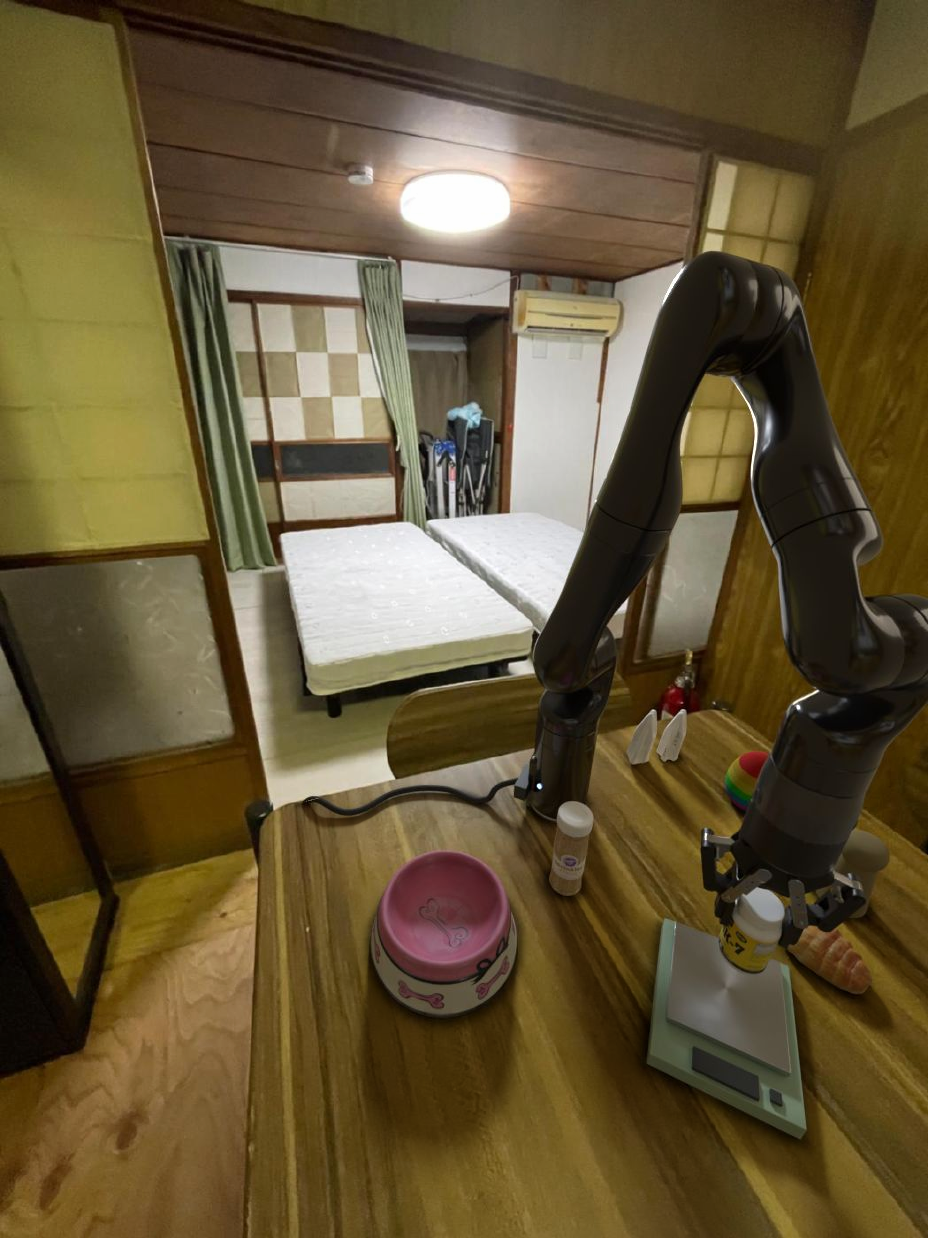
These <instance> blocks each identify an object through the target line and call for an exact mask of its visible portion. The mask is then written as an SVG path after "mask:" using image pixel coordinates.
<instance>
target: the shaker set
mask: <svg viewBox="0 0 928 1238" xmlns="http://www.w3.org/2000/svg"><path fill="white" fill-rule="evenodd" d="M657 714H658V713H657V710H656V709H651V710H650V711H649V712H648V714H646V716H645V717H643V719H642V720H641V721H640V723H639V724H638V725H637V727H636V728H635V729H634V732H633V734H632V737H631V738H630V742H629V745H628V748H627V750H626V756H627V758H628V761H629V763H630V764H631V765H637V764H644V763H647V762H649V761H650V756H651V753H652V749H653V747H654V744H655V741H656V739H657V738H656V737H657V734H658V715H657ZM686 734H687V710H686V709H683V708H682V709H680V711H678V713H677V714H676V715H675V716H674V717H673V719H672V720H671V721H670V722H669V723H668V724H667V725H666V727H665V728H664V730H663V731H662V735H661V737H660V741H659V743H658V745H657V747H656V751H655V752H656V753H657V754H658V755H659V756H660V760H661V761H662V762H666V761H667V760H668V761H669V760H671V761H672V762H675V761H676V760H678V758H679V754H680V751H681V748H682V745H683V744H684V741H685V739H686V736H687V735H686Z"/></svg>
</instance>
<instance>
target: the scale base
mask: <svg viewBox="0 0 928 1238" xmlns="http://www.w3.org/2000/svg"><path fill="white" fill-rule="evenodd" d="M675 922H676V921H674V920H671V919H670V918H669V919H668V918H666V917H664V918H663V921H662V925H661V930H660V936H659V937H660V939H659V946H658V947H659V948H658V956H657V964H656V965H657V966H656V974H655V981H654V992H653V999H652V1000H653V1001H652V1008H651V1009H652V1010H651V1018H650V1027H649V1036H648V1045H647V1052H646V1064H647V1065H649V1066H651V1067H652V1068H655V1069H657V1070H658V1071H661V1072H663V1073H665V1074H667V1075H669V1076H670V1077H672V1078H674V1079H676V1080H678V1081H681V1082H683V1083H684V1084H687V1085H688V1086H691V1087H693V1088H695V1089H697V1090H699V1091H701V1092H703V1093H705V1094H707V1095H710V1096H711V1097H713V1098H715V1099H717V1100H720V1101H721V1102H723V1103H725V1104H727V1105H729V1106H731V1107H733V1108H735V1109H738V1110H740V1111H742V1112H744V1113H745V1114H746V1115H747V1114H748V1115H749V1116H752V1117H753V1118H756V1119H758V1120H760V1121H761V1122H764V1123H766V1124H768V1125H770V1126H771V1127H774V1128H776V1129H778V1130H780V1131H781V1132H784V1133H786V1134H787V1135H790V1136H792V1137H794V1138H796V1139H798V1140H801V1139H802V1138H803V1137H804V1135H805V1134H806V1132H807V1130H808V1129H807V1120H806V1111H805V1110H806V1109H805V1101H804V1093H803V1092H804V1091H803V1083H802V1074H801V1073H802V1072H801V1065H800V1056H799V1046H798V1045H799V1044H798V1035H797V1027H796V1019H795V1008H794V1000H793V991H792V990H793V989H792V982H791V973H790V971H791V970H790V966H789V965H786V964H784V963H781V972H782V983H783V994H784V1004H785V1015H786V1025H787V1036H788V1046H789V1057H790V1067H791V1074H790V1076H789V1077H787V1076H785V1075H783V1074H781V1073H778V1072H776V1071H774V1070H772V1069H770V1068H768V1067H765V1066H763V1065H761V1064H759V1063H757V1062H755V1061H752V1060H750V1059H748V1058H746V1057H744V1056H741V1055H739V1054H737V1053H735V1052H733V1051H731V1050H728V1049H726V1048H724V1047H722V1046H720V1045H718V1044H715V1043H713V1042H711V1041H709V1040H707V1039H704V1038H702V1037H700V1036H698V1035H696V1034H694V1033H691V1032H689V1031H687V1030H685V1029H683V1028H681V1027H678V1026H676V1025H674V1024H672V1023H670V1022H668V1021H666V1011H667V1000H668V989H669V978H670V967H671V956H672V945H673V934H674V925H675Z"/></svg>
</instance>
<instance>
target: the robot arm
mask: <svg viewBox="0 0 928 1238" xmlns="http://www.w3.org/2000/svg"><path fill="white" fill-rule="evenodd" d="M705 375H709V376H715V377H721V378H729V379H730V380H731V382H732V383H733V384H734V385H735V386H736V388H737V390H738V391H739V392H740V394H741V396H742V397H743V399H744V400H745V402H746V404H747V406H748V408H749V411H750V414H751V417H752V421H753V428H754V429H753V430H754V440H753V441H754V442H753V450H752V457H751V464H750V487H751V488H750V489H751V495H752V500H753V503H754V506H755V507H754V508H755V509H756V512H757V513H756V514H757V515H758V517H759V520H760V522H761V525H762V528H763V531H764V534H765V536H766V538H767V540H768V543H769V545H770V548H771V551H772V553H773V556H774V558H775V560H776V563H777V570H778V572H777V573H778V592H779V604H780V605H779V606H780V619H781V633H782V640H783V645H784V649H785V652H786V654H787V657H788V659H789V661H790V663H791V664H792V666H793V669H795V671H796V673H798V674H799V675H800V677H801V678H802V679H803V680H804V681H805V682H806V683H807V684H808V685H809V686H811V687H812V688H813V689H814V690H811V691H810V692H808V693H805V694H804V695H801V696H799V697H798V698H796V699H795V700H793V701H792V702H791V703H790V704H789V705H788V707H787V708H786V710H785V712H784V715H783V716H782V719H781V721H780V724H779V727H778V729H777V733H776V735H775V739H774V741H773V744H772V747H771V750H770V752H769V753H768V755H769V756H768V758H767V759H766V761H765V763H764V764H763V766H762V769H761V771H760V774H759V776H758V779H757V782H756V785H755V788H754V791H753V794H752V796H751V799H750V802H749V805H748V808H747V811H745V814H744V816H743V820H742V823H741V826H740V827H739V829H738V830H737V831H735V832H734V833H733V834H731V836H730V837H728V836H721V835H716V834H715V831H714V830H713V829H711V828H709V827H704V828H702V829H701V830H700V848H699V849H700V851H699V852H700V863H701V875H702V886H703V889H704V890H706V891H707V892H711V893H713V892H716V896H715V899H714V905H713V906H714V907H713V908H714V910H713V911H714V917H715V918H718V919H719V920H718V922H719V924H720V925H721V926H723V925H724V926H728V923H729V921H730V918H731V916H732V913H733V910H734V908H735V900H736V899H738V898H739V897H740V896H741V895H742V894H744V895H748V894H749V893H750V892H752V891H753V890H754V889H755V888H757V887H758V888H761V889H766V890H769V891H770V892H772V893H774V894H777V895H779V896H780V897H781V896H782V897H784V898H787V899H790V905H788V904H786V906H785V907H784V910H785V916H784V919H783V921H782V934H781V937H780V939H779V941H778V943H777V945H778V947H781V948H783V949H786V950H788V949H787V948H788V946H789V944H790V945H793V946H794V945H795V944H797V943H798V941H799V939H800V937H801V935H802V933H803V930H804V929H806V928H808V926H817V927H818V929H819V930H821V931H823V932H832V931H833V930H834V929H835V928H837V929H838V927H839V926H840V925H841V924H843V923H844V922H845V921H846V920H848V919H849V917H850V916H851V915H852V914H854V913H855V912H856V911H857V910H858V909H860V908H861V907H862V906H863V905H865V904H866V898H865V895H864V891H863V887H862V884H861V880H860V877H859V876H858V875H856V874H853V873H848V874H846V875H842V874H840V873H838V872H836V871H834V870H833V869H834V867H835V865H836V863H837V861H838V859H839V857H840V855H841V853H842V851H843V849H844V846H845V844H846V842H847V840H848V838H849V836H850V834H851V832H852V830H855V829H856V828H857V826H858V823H859V818H860V815H861V814H862V811H863V806H864V804H865V799H866V794H867V792H868V790H869V788H870V786H871V783H872V781H873V779H874V777H875V775H876V773H877V771H878V769H879V767H880V765H881V762H882V760H883V758H884V754H885V753H886V750H887V748H888V747H889V745H891V744H892V742H893V741H894V740H895V739H897V737H898V736H899V735H900V734H901V733H902V732H903V731H904V730H905V729H906V728H907V727H909V725H910V724H911V723H912V721H914V719H915V718H916V717H917V716H918V715H919V713H920V712H922V710H923V709H924V708H925V706H926V705H928V598H927V597H924V596H922V595H918V594H912V593H901V592H899V593H884V594H876V595H875V594H874V595H868V596H864V595H863V592H862V588H861V581H860V576H859V568H860V567H862V566H864V565H866V564H868V563H869V562H871V561H872V560H874V559H875V558H876V557H877V556H878V554H879V553H880V552H881V551H882V549H883V545H884V537H883V536H884V535H883V531H882V528H881V526H880V523H879V520H878V518H877V516H876V514H875V512H874V510H873V508H872V506H871V504H870V502H869V500H868V497H867V495H866V493H865V491H864V489H863V487H862V485H861V483H860V480H859V478H858V476H857V474H856V471H855V470H854V467H853V466H852V464H851V462H850V459H849V457H848V455H847V453H846V450H845V448H844V446H843V444H842V440H841V438H840V436H839V434H838V431H837V428H836V425H835V422H834V420H833V417H832V414H831V410H830V408H829V404H828V400H827V397H826V394H825V390H824V388H823V382H822V379H821V375H820V371H819V367H818V363H817V360H816V355H815V352H814V347H813V342H812V337H811V333H810V327H809V323H808V320H807V316H806V312H805V307H804V303H803V300H802V296H801V294H800V291H799V289H798V287H797V284H796V282H795V281H794V280H793V278H792V277H791V276H790V275H788V274H787V273H786V272H785V271H784V270H782V269H780V268H778V267H775V266H773V265H769V264H766V263H764V262H763V263H762V262H760V261H756V260H752V259H749V258H746V257H742V256H739V255H735V254H733V253H728V252H725V251H720V250H708V251H704V252H702V253H700V254H697V255H695V256H694V257H693V258H692V259H690V260H689V261H688V262H687V263H686V264H685V265H684V266H683V267H682V268H681V269H680V271H679V272H678V273H677V275H676V276H675V277H674V279H673V281H672V283H670V286H669V287H668V290H667V291H666V294H665V296H664V298H663V301H662V303H661V305H660V308H659V310H658V313H657V315H656V318H655V321H654V324H653V328H652V330H651V334H650V337H649V341H648V343H647V348H646V351H645V354H644V358H643V361H642V365H641V368H640V372H639V376H638V379H637V382H636V386H635V389H634V393H633V397H632V400H631V403H630V408H629V410H628V414H627V417H626V420H625V423H624V425H623V429H622V431H621V434H620V437H619V440H618V443H617V446H616V448H615V450H614V454H613V455H612V459H611V461H610V465H609V467H608V470H607V473H606V475H605V478H604V480H603V482H602V485H601V487H600V489H599V491H598V494H597V497H596V499H595V500H594V504H593V506H592V509H591V511H590V514H589V517H588V518H587V522H586V525H585V528H584V531H583V535H582V537H581V539H580V543H579V545H578V547H577V550H576V553H575V555H574V557H573V560H572V563H571V566H570V568H569V570H568V573H567V575H566V579H565V582H564V585H563V587H562V589H561V592H560V594H559V596H558V599H557V601H556V602H555V605H554V607H553V608H552V610H551V612H550V614H549V617H548V619H547V620H546V623H545V624H544V625H543V628H542V629H541V631H540V634H539V635H538V636H537V639H536V642H535V644H534V647H533V651H532V668H533V672H534V674H535V677H536V679H537V681H538V682H539V684H540V685H541V686H542V687H543V688H544V689H545V690H544V692H543V693H542V695H541V696H540V698H539V701H538V705H537V717H536V718H537V719H536V728H535V737H534V748H533V753H532V755H531V757H530V759H529V763H528V764H527V763H525V764H524V766H523V767H522V769H521V772H519V775H518V777H515V778H510V779H506V780H502V781H500V782H498V783H496V784H494V786H492V787H491V789H490V791H489V792H488V794H487V795H486V796H479V797H478V796H474V795H470V794H468V793H466V792H464V791H461V790H459V789H456V788H454V787H451V786H448V785H440V784H439V785H438V784H419V785H412V786H411V785H410V786H404V787H400V788H397V789H396V788H395V789H393V790H390V791H388V792H386V793H384V794H382V795H380V796H379V797H376V798H374V799H373V800H372V801H370V802H368V803H365V804H364V805H363V806H360V807H355V808H342V807H340V806H337V805H335V804H333V803H332V802H330V801H329V800H327V799H326V798H324V797H321V796H318V795H310V796H307V797H305V798H304V799H303V801H302V802H303V803H302V804H303V805H309V804H311V803H316V804H319V805H321V807H324V809H327V810H329V811H330V812H332V813H334V814H336V815H340V816H343V817H345V816H346V817H351V816H357V815H361V814H364V813H366V812H368V811H370V810H373V809H374V808H376V807H377V806H379V805H381V804H382V803H384V802H385V801H388V800H389V799H392V798H394V797H397V796H400V795H405V794H410V793H417V792H438V793H446V794H451V795H453V796H456V797H458V798H460V799H462V800H464V801H466V802H470V803H474V804H487V803H489V802H491V801H492V800H493V799H494V798H495V795H496V794H497V792H499V791H500V790H501V789H503V788H504V789H505V788H507V787H510V786H513V798H514V799H517V800H520V801H524V802H525V806H526V807H529V808H531V809H532V811H533V813H535V814H536V815H537V816H538V817H540V818H541V819H543V820H545V821H546V822H550V823H553V824H557V815H558V810H559V808H560V806H561V805H562V804H564V803H566V802H569V801H576V802H580V803H582V804H584V805H586V806H587V802H588V794H589V789H590V782H591V775H592V770H593V763H594V758H595V752H596V746H597V739H598V734H599V727H600V721H601V718H602V716H603V713H604V712H605V710H606V708H607V706H608V703H609V700H610V696H611V690H612V686H613V681H614V677H615V673H616V667H617V660H618V659H617V658H618V649H617V648H618V647H617V643H616V638H615V637H614V634H613V633H612V631H611V629H610V628H609V626H608V625H609V623H610V621H612V618H613V617H614V616H615V614H616V613H617V612H618V610H619V609H620V608H622V606H623V605H624V603H625V602H626V601H627V600H628V599H629V597H630V596H631V595H632V594H633V593H634V592H635V590H636V589H637V588H638V587H639V585H640V584H641V583H642V582H643V580H644V579H645V578H646V577H647V576H648V574H649V573H650V571H651V570H652V568H653V567H654V565H655V564H656V562H657V560H658V559H659V557H660V555H661V553H662V552H663V549H664V548H665V546H666V545H667V541H668V540H669V538H670V537H671V535H672V532H673V530H674V527H675V526H676V524H677V522H678V520H679V517H680V514H681V511H682V506H683V499H684V497H683V496H684V492H683V491H684V490H683V489H684V486H683V471H682V459H681V443H682V442H681V441H682V434H683V430H684V426H685V422H686V419H687V417H688V414H689V411H690V408H691V406H692V405H693V404H692V403H693V401H694V398H695V396H696V394H697V392H698V390H699V387H700V385H701V383H702V381H703V379H704V377H705ZM320 797H321V798H320ZM315 798H319V799H315ZM311 799H315V800H312V801H308V800H311ZM306 801H307V802H306ZM726 853H731V856H732V857H733V859H734V860H733V861H732V864H731V866H730V868H728V869H727V870H726V871H725V872H724V873H722V872H720V871H719V870H718V867H717V863H718V862H720V860H721V859H723V858H724V856H725V854H726ZM828 886H830V889H829V890H828V891H827V892H825V893H824V894H823V895H822V896H821V897H820V898H819V897H818V899H816V900H815V901H814V902H813V903H807V902H806V901H807V900H806V894H809V893H813V892H816V890H819V889H822V888H825V887H828Z"/></svg>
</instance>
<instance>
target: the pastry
mask: <svg viewBox="0 0 928 1238" xmlns="http://www.w3.org/2000/svg"><path fill="white" fill-rule="evenodd" d="M786 950H787V951H788V952H789V953H791V954H792V955H793V956H794V957H795V958H796V959H797V961H799V962H800V963H801V964H803V965H804V966H805V967H806V968H808V969H809V970H811V971H812V972H814V974H816V975H817V976H819V977H821V978H823V979H824V981H827V982H828V983H829V984H831V985H833V986H835V987H836V988H839V989H840V990H843V991H846V992H849V993H851V994H854V995H862V994H863V993H864V992H866V991H867V990H868V988H869V986H871V984H872V983H873V981H874V979H873V977H872V975H871V972H870V970H869V968H868V966H867V965H866V964H865V962H864V961H863V958H862V955H861V954H860V953H858V951H856V950H855V949H854V948H853V944H852V943H851V941H850V940H848V939H846V938H845V937H844V936H843V934H842V932H841V931H840V930H839V929H838V927H837V928H835V929H834V930H833V931H832V932H823V931H821V930H819V929H818V927H817V926H808V928H806V929H804V930H803V933H802V935H801V937H800V939H799V941H798V943H797V944H795V945H794V946H793V945H790V944H789V946H788V948H787V949H786Z"/></svg>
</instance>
